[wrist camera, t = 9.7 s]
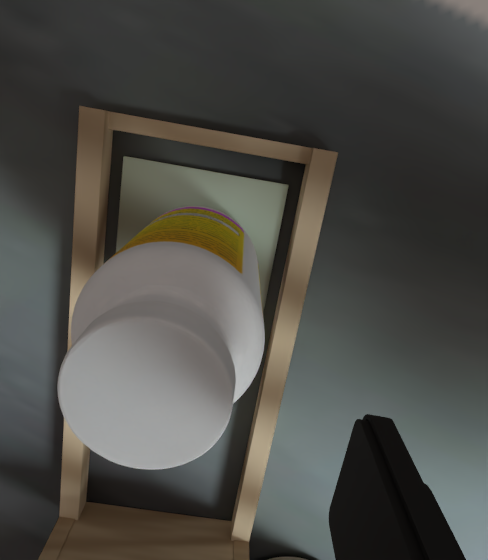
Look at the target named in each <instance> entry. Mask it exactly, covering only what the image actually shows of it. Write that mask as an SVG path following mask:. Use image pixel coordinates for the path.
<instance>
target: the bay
mask: <svg viewBox="0 0 488 560" xmlns="http://www.w3.org/2000/svg"><path fill="white" fill-rule="evenodd" d="M113 130H118V131H124V132H129V133H135V134H140V135H146V136H152V137H157V138H163V139H168V140H174V141H180V142H185V143H191V144H196V145H202V146H207V147H213V148H219V149H224V150H230V151H235V152H241V153H247V154H252V155H258V156H263V157H269V158H275V159H280V160H286V161H291V162H297V163H303V164H306V166H305V171H304V175H303V180H302V185H301V190H300V195H299V199H298V204H297V209H296V214H295V219H294V224H293V228H292V233H291V238H290V243H289V248H288V252H287V257H286V262H285V267H284V272H283V276H282V281H281V286H280V291H279V296H278V300H277V305H276V310H275V315H274V320H273V324H272V329H271V334H270V339H269V344H268V348H267V353H266V358H265V363H264V368H263V372H262V377H261V382H260V387H259V392H258V396H257V401H256V406H255V411H254V416H253V420H252V425H251V430H250V435H249V440H248V444H247V449H246V454H245V459H244V464H243V468H242V473H241V478H240V483H239V488H238V492H237V497H236V502H235V507H234V512H233V517H232V521H226V520H218V519H211V518H204V517H196V516H189V515H181V514H174V513H166V512H159V511H152V510H144V509H137V508H129V507H122V506H115V505H107V504H100V503H92V502H86V499H87V485H88V472H89V458H90V448H88V447H87V446H86V445H85V444H83V443H82V442H81V441H80V440H79V439H78V438H77V436H76V435H75V434H74V433H73V432H72V430H71V429H70V427H69V425H68V424H67V422H66V420H65V418H64V432H63V452H62V473H61V493H60V514H59V518H58V520H57V522H56V524H55V526H54V528H53V530H52V532H51V534H50V536H49V538H48V540H47V542H46V544H45V546H44V548H43V550H42V552H41V554H40V556H39V558H38V560H249V540H250V536H251V531H252V527H253V522H254V518H255V514H256V509H257V505H258V501H259V496H260V492H261V487H262V483H263V479H264V474H265V470H266V466H267V461H268V457H269V452H270V448H271V444H272V439H273V435H274V431H275V426H276V422H277V418H278V413H279V409H280V404H281V400H282V396H283V391H284V387H285V383H286V378H287V374H288V369H289V365H290V361H291V356H292V352H293V348H294V343H295V339H296V334H297V330H298V326H299V321H300V317H301V313H302V308H303V304H304V300H305V295H306V291H307V286H308V282H309V278H310V273H311V269H312V265H313V260H314V256H315V251H316V247H317V243H318V238H319V234H320V230H321V225H322V221H323V216H324V212H325V208H326V203H327V199H328V195H329V190H330V186H331V181H332V177H333V173H334V168H335V164H336V160H337V155H338V152H333V151H327V150H322V149H316V148H309V147H303V146H298V145H292V144H287V143H281V142H276V141H270V140H264V139H259V138H253V137H248V136H242V135H237V134H231V133H226V132H220V131H215V130H209V129H204V128H198V127H193V126H187V125H181V124H176V123H170V122H165V121H159V120H154V119H148V118H143V117H137V116H132V115H126V114H121V113H115V112H110V111H106V110H100V109H95V108H89V107H84V106H79V123H78V144H77V164H76V185H75V205H74V226H73V247H72V267H71V288H70V308H69V329H68V349H67V352H68V350H69V349H70V348H71V346H72V342H71V322H72V316H73V311H74V307H75V304H76V301H77V299H78V297H79V295H80V293H81V291H82V289H83V287H84V286H85V284H86V283H87V281H88V280H89V279H90V277H91V276H92V275H93V274H94V273H95V272H96V271H97V270H98V269H99V268H100V267H101V266H102V265H103V264H104V251H105V237H106V223H107V210H108V196H109V182H110V168H111V154H112V141H113ZM288 186H289V185H287V184H281V183H275V182H270V181H264V180H258V179H253V178H247V177H241V176H236V175H230V174H224V173H218V172H213V171H207V170H201V169H196V168H190V167H184V166H179V165H173V164H167V163H162V162H156V161H150V160H145V159H139V158H133V157H127V156H123V169H122V181H121V193H120V206H119V218H118V231H117V243H116V253H117V252H118V251H119V250H120V249H121V248H122V247H124V246H125V245H126V244H127V243H128V242H129V241H130V240H131V239H133V238H134V237H135V236H136V235H137V234H138V233H139V232H141V231H142V230H143V229H144V228H145V227H146V226H148V225H149V224H150V223H151V222H152V221H153V220H155V219H156V218H157V217H159V216H160V215H162V214H164V213H166V212H168V211H170V210H173V209H176V208H180V207H185V206H203V207H209V208H213V209H216V210H219V211H221V212H223V213H225V214H227V215H228V216H230V217H231V218H233V219H234V220H235V221H237V222H238V223H239V224H240V225H241V226H242V227H243V229H244V230H245V231H246V233H247V234H248V235H249V237H250V239H251V241H252V243H253V245H254V248H255V251H256V255H257V260H258V268H259V278H260V290H261V300H262V310H263V312H264V307H265V302H266V297H267V292H268V286H269V281H270V276H271V271H272V266H273V261H274V256H275V251H276V246H277V241H278V236H279V231H280V226H281V221H282V216H283V211H284V206H285V201H286V196H287V191H288Z"/></svg>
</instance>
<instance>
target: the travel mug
mask: <svg viewBox="0 0 488 560" xmlns="http://www.w3.org/2000/svg"><path fill="white" fill-rule="evenodd" d="M267 560H307V559H303V558H298V557H276V558H271V559H267Z"/></svg>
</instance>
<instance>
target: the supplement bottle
mask: <svg viewBox="0 0 488 560" xmlns="http://www.w3.org/2000/svg"><path fill="white" fill-rule="evenodd" d="M71 342H72V346H71V348H70V349H69V350H68V352H67V354H66V355H65V357H64V360H63V362H62V364H61V367H60V371H59V376H58V383H57V392H58V400H59V405H60V408H61V411H62V414H63V416H64V418H65V420H66V422H67V424H68V425H69V427H70V429H71V430H72V432H73V433H74V434H75V435H76V436H77V438H78V439H79V440H80V441H81V442H82V443H83V444H85V445H86V446H87V447H88V448H90V449H91V450H92V451H94V452H95V453H97V454H98V455H100V456H102V457H104V458H106V459H107V460H109V461H112V462H114V463H117V464H119V465H123V466H127V467H131V468H137V469H149V470H154V469H166V468H172V467H175V466H179V465H183V464H185V463H188V462H190V461H192V460H194V459H196V458H198V457H199V456H201V455H202V454H204V453H205V452H207V451H208V450H209V449H210V448H211V447H212V446H213V445H214V444H215V443H216V442H217V441H218V439H219V438H220V437H221V435H222V434H223V432H224V430H225V429H226V427H227V425H228V422H229V420H230V417H231V413H232V408H233V403H235V402H236V401H237V400H238V399H239V398H240V397H241V396H242V395H243V394H244V393H245V391H246V390H247V389H248V387H249V386H250V384H251V383H252V381H253V379H254V378H255V376H256V373H257V371H258V369H259V366H260V363H261V360H262V356H263V351H264V343H265V330H264V319H263V310H262V300H261V290H260V278H259V268H258V260H257V255H256V251H255V248H254V245H253V243H252V241H251V239H250V237H249V235H248V234H247V233H246V231H245V230H244V229H243V227H242V226H241V225H240V224H239V223H238V222H237V221H235V220H234V219H233V218H231V217H230V216H228V215H227V214H225V213H223V212H221V211H219V210H216V209H213V208H209V207H203V206H185V207H180V208H176V209H173V210H170V211H168V212H166V213H164V214H162V215H160V216H159V217H157V218H156V219H155V220H153V221H152V222H151V223H150V224H149V225H148V226H146V227H145V228H144V229H143V230H142V231H141V232H139V233H138V234H137V235H136V236H135V237H134V238H133V239H131V240H130V241H129V242H128V243H127V244H126V245H125V246H124V247H122V248H121V249H120V250H119V251H118V252H117V253H115V254H114V255H113V256H112V257H111V258H110V259H109V260H107V261H106V262H105V263H104V264H103V265H102V266H101V267H100V268H99V269H98V270H97V271H96V272H95V273H94V274H93V275H92V276H91V277H90V279H89V280H88V281H87V283H86V284H85V286H84V287H83V289H82V291H81V293H80V295H79V297H78V299H77V301H76V304H75V307H74V311H73V316H72V322H71Z"/></svg>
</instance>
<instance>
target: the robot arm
mask: <svg viewBox="0 0 488 560" xmlns="http://www.w3.org/2000/svg"><path fill="white" fill-rule="evenodd" d="M329 526H330V531H331V537H332V542H333V548H334V553H335V558H336V560H466V559H465V557H464V555H463V553H462V551H461V549H460V547H459V545H458V543H457V541H456V539H455V537H454V535H453V533H452V531H451V529H450V527H449V525H448V523H447V521H446V519H445V517H444V515H443V513H442V511H441V509H440V507H439V505H438V503H437V501H436V499H435V497H434V495H433V493H432V491H431V490H430V488H429V487H428V486H427V485H426V484H424V483H423V481H422V479H421V477H420V475H419V473H418V471H417V469H416V467H415V465H414V463H413V461H412V459H411V457H410V455H409V452H408V450H407V448H406V446H405V444H404V442H403V440H402V438H401V436H400V434H399V432H398V430H397V428H396V426H395V424H394V422H393V421H392V419H390V418H386V417H380V416H374V415H368V414H367V415H365V416H364V418H363V420H361V419H357V420H356V421H355V424H354V427H353V431H352V434H351V437H350V441H349V444H348V448H347V451H346V454H345V458H344V461H343V465H342V468H341V472H340V475H339V478H338V482H337V485H336V489H335V492H334V496H333V499H332V502H331V506H330V511H329Z"/></svg>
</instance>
